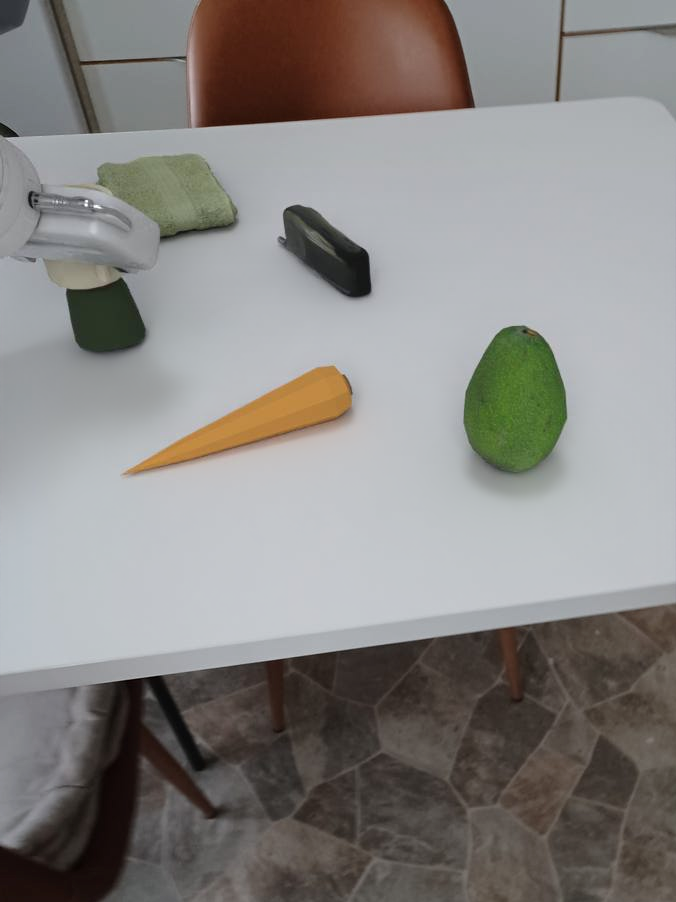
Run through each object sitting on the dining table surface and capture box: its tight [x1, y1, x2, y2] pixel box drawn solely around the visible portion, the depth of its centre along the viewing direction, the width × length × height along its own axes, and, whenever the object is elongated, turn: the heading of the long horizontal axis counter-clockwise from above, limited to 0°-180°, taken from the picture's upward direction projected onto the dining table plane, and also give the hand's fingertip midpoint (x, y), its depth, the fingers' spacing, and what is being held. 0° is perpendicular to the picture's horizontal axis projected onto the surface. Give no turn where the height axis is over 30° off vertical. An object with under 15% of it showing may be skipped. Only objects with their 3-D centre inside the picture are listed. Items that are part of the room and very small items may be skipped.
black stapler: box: [277, 204, 372, 297], centre depth 97 cm, size 5×3×15 cm
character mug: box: [42, 182, 147, 352], centre depth 85 cm, size 11×7×13 cm, turn 34°
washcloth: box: [95, 153, 239, 238], centre depth 107 cm, size 13×18×3 cm
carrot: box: [120, 365, 354, 476], centre depth 78 cm, size 20×4×4 cm, turn 119°
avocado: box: [462, 324, 568, 473], centre depth 73 cm, size 8×8×12 cm
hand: (79, 258), depth 82 cm, fingers open, 8 cm apart
